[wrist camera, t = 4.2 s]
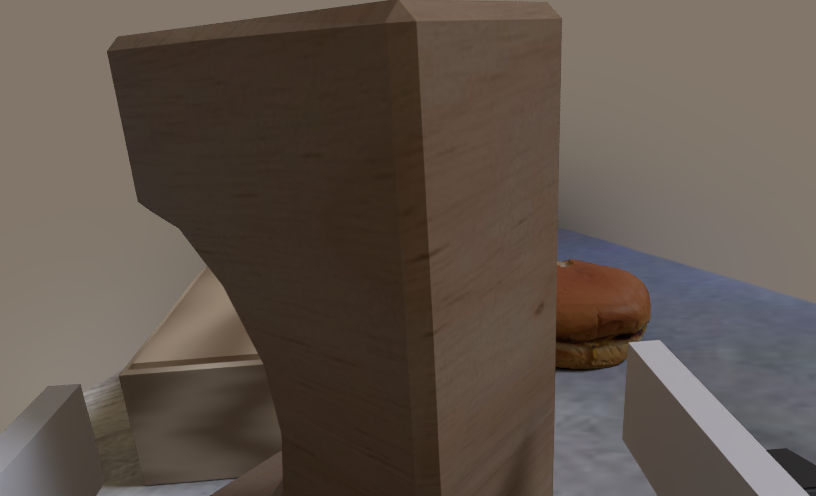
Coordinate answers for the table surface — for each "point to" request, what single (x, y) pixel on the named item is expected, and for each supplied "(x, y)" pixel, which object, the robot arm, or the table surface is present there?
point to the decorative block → (372, 230)
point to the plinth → (200, 393)
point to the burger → (597, 314)
